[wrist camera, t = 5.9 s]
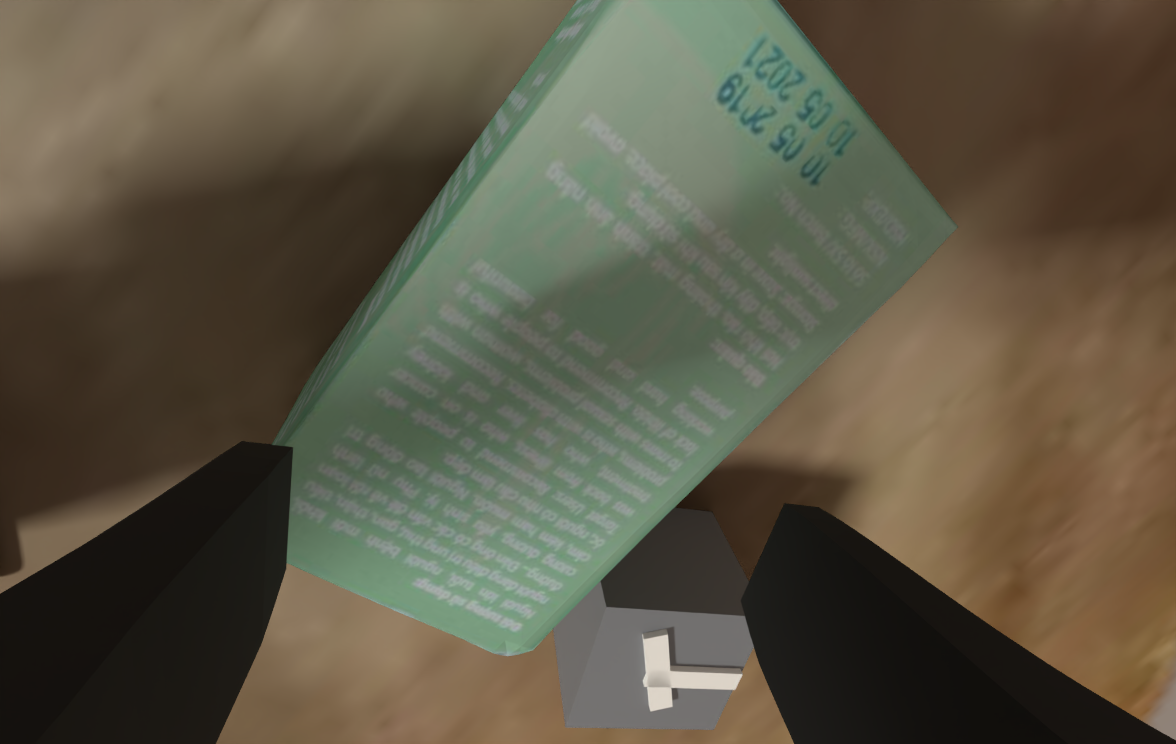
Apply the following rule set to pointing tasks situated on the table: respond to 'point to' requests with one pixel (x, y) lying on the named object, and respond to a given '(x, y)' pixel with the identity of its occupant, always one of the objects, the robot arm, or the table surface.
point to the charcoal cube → (658, 633)
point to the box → (597, 313)
